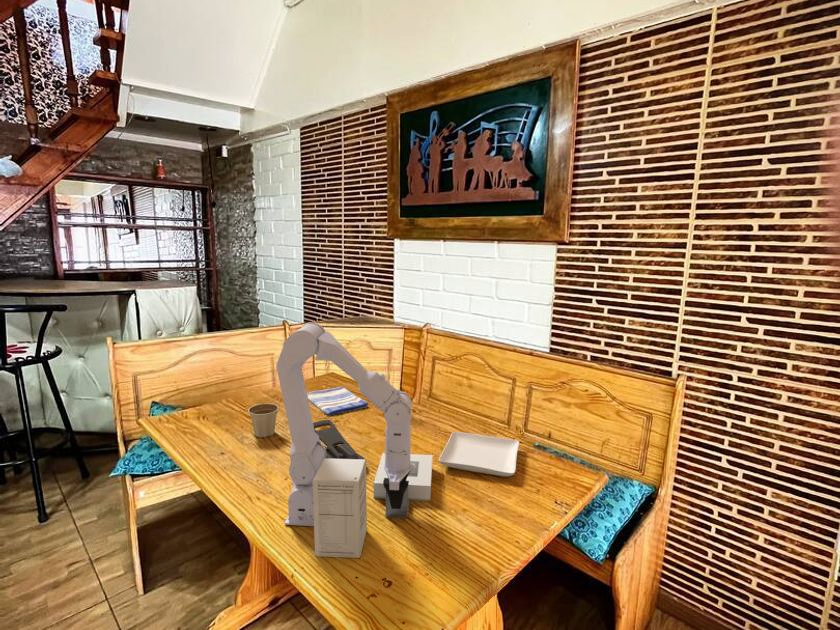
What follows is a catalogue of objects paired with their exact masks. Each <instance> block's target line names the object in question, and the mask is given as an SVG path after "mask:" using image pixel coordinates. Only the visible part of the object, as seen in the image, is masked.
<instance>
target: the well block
mask: <svg viewBox="0 0 840 630" xmlns="http://www.w3.org/2000/svg"><path fill="white" fill-rule="evenodd" d="M410 463H411V464H415V470H414V471H410V473H409V474H408V477H407V479H406V481H409V494H408V498H409V501H420V502H421V501H422V502H423V501H424V502H425V501H426V502H431V497H432V495H431V493H432V476H433V454H417V453H416V454H415V453H414V454H413V453H410ZM384 465H385V452H382V454H381V457H380V461H379V464H378V466H377V467H378V468H377V471H376V473H375V478H374V481H373V499H385V500H386V489H385V487H384V485H383V481H384V478H388V476H387V474H386V472H385V469H384Z"/></svg>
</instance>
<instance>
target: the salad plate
mask: <svg viewBox="0 0 840 630" xmlns="http://www.w3.org/2000/svg"><path fill="white" fill-rule="evenodd" d="M519 447H520V441H519V440H516V439H509V438H503V437H498V436H497V437H496V436H491V435H483V434H476V433H468V432H462V431H453V432H451V434H450V436H449V438H448V441H447V443H446V444H445V446H444V448H443V450H442V452H441V454H440V455H439V457H438V462H439V463H440V464H441V465H443V466H445V467H448V468H451V469H452V468H453V469H457V470H462V471H468V472H473V473H480V474H486V475H494V476H497V477H498V476H499V477H511V476H513V475H515V473H516V471H517V457H518V453H519V452H518V451H519Z"/></svg>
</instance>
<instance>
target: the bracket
mask: <svg viewBox="0 0 840 630" xmlns="http://www.w3.org/2000/svg"><path fill="white" fill-rule="evenodd" d="M402 481H403V480H402ZM408 494H409V484H408V487H407V489H406V490H405V492H404V495H403V500H402V505H401V508H400V509H392V508H391V505H390V500H389V496H388V493H387V491H386V499H385V518H388V519H389V518H390V519H405V520H407V519H408V517H409V515H408V514H409V510H410V509H409V508H410V500H409V498H408Z"/></svg>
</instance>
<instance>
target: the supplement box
mask: <svg viewBox="0 0 840 630" xmlns="http://www.w3.org/2000/svg"><path fill="white" fill-rule="evenodd" d="M313 505H314V506H313V509H314V526H313V535H314V536H313V537H314V538H313V539H314V540H313V541H314V556H315V557H322V558H323V557H325V558H326V557H327V558H329V557H330V558H350V559H351V558H352V559H355V558H356V559H360V558H361V554H362V551H363V548H364V543H365V540H366V536H367V530H368V528H367V526H368V523H367V520H368V519H367V514H368V513H367V460H366V459H365V460H364V459H326V458H324V460H323V462H322V464H321V466H320V468H319V470H318V472H317V474H316V476H315V478H314V479H313Z"/></svg>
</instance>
